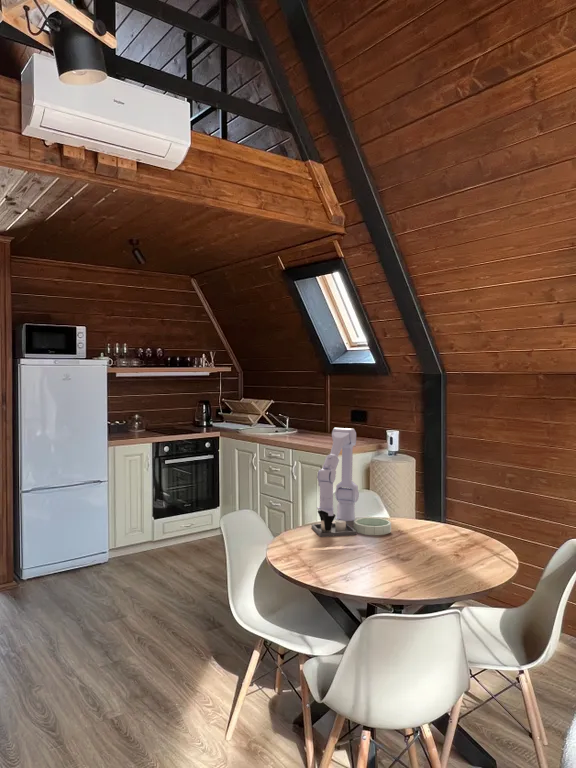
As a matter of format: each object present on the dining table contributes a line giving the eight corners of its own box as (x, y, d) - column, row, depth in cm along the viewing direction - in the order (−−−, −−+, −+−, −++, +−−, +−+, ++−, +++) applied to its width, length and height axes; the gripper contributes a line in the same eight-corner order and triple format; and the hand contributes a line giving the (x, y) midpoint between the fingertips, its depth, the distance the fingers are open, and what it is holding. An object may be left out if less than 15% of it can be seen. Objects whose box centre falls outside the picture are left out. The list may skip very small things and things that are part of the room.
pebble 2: (334, 529, 249) (334, 520, 249) (344, 529, 250) (344, 519, 250) (337, 532, 245) (337, 523, 244) (347, 531, 245) (347, 522, 245)
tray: (311, 529, 252) (311, 524, 252) (345, 528, 255) (345, 522, 255) (320, 539, 238) (320, 533, 238) (356, 537, 241) (356, 531, 241)
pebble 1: (319, 529, 248) (319, 519, 248) (329, 528, 249) (329, 519, 248) (322, 532, 243) (322, 522, 243) (332, 531, 244) (332, 521, 244)
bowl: (349, 528, 255) (349, 518, 255) (382, 526, 258) (382, 516, 258) (361, 538, 239) (361, 527, 239) (396, 536, 243) (396, 525, 243)
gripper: (312, 493, 252) (312, 524, 252) (321, 501, 238) (321, 534, 238) (328, 493, 253) (328, 523, 254) (338, 500, 239) (338, 533, 239)
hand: (326, 528), depth 246 cm, fingers closed on pebble 1, 4 cm apart
